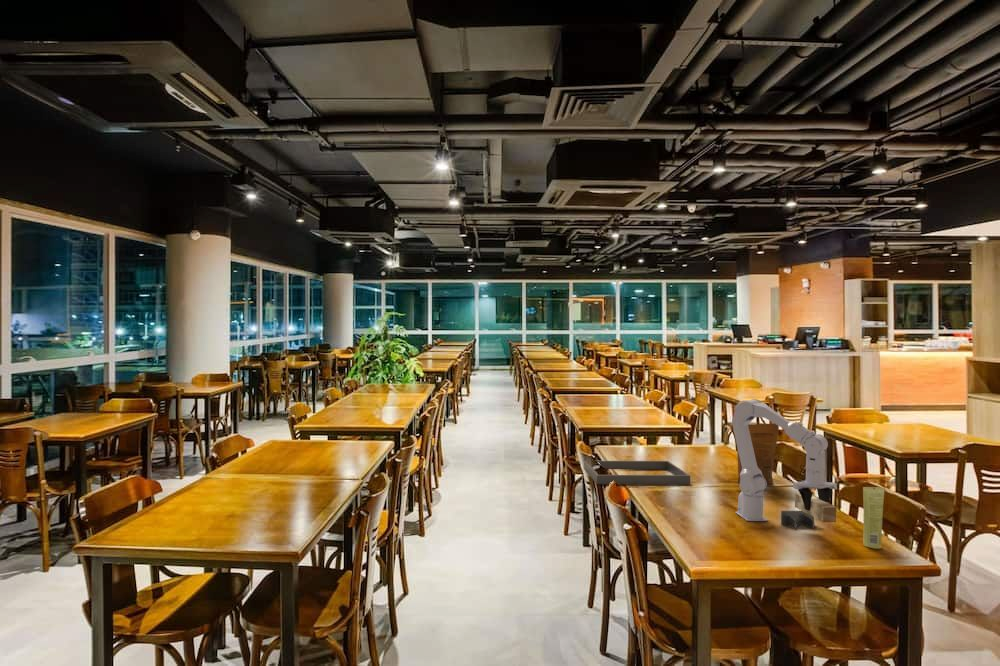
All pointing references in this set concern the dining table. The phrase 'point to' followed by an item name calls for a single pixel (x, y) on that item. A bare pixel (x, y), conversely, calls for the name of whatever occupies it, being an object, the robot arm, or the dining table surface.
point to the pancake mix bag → (762, 448)
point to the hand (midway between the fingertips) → (814, 509)
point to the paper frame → (677, 478)
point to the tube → (873, 516)
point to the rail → (817, 509)
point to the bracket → (796, 519)
